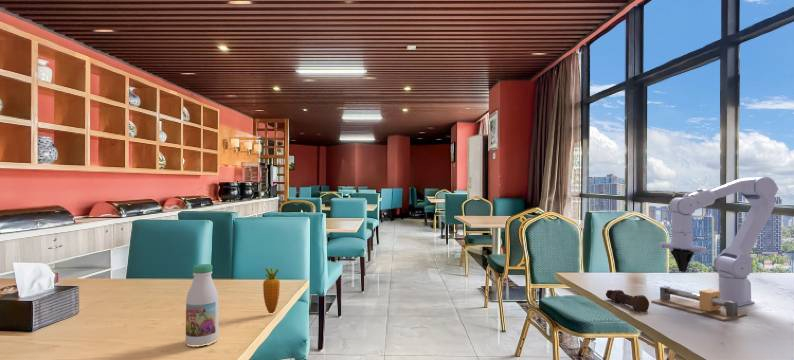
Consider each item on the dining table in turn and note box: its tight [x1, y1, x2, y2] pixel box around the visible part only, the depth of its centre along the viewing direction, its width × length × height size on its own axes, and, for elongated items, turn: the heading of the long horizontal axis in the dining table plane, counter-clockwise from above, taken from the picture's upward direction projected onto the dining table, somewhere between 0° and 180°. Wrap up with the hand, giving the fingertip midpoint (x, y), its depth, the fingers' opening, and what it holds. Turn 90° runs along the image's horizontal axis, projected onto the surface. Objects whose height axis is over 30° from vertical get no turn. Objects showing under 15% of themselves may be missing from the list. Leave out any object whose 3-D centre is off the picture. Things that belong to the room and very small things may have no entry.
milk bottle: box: [185, 263, 220, 345], centre depth 107 cm, size 8×8×20 cm
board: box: [650, 296, 748, 322], centre depth 134 cm, size 22×12×1 cm, turn 25°
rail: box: [659, 285, 739, 317], centre depth 134 cm, size 22×3×5 cm, turn 25°
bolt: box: [605, 289, 650, 313], centre depth 138 cm, size 6×5×15 cm
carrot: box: [262, 266, 281, 314], centre depth 129 cm, size 5×5×15 cm
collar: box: [698, 288, 722, 311], centre depth 130 cm, size 3×6×6 cm, turn 115°
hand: (682, 271), depth 143 cm, fingers closed
